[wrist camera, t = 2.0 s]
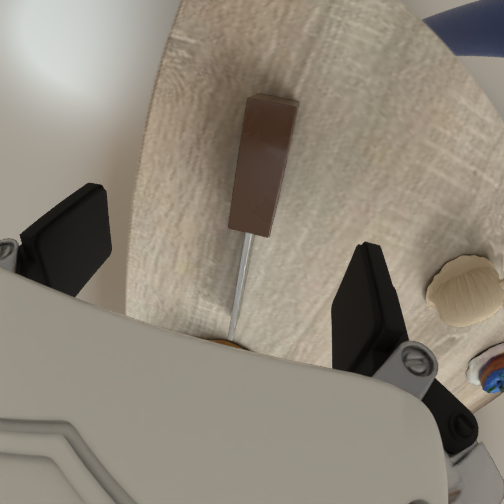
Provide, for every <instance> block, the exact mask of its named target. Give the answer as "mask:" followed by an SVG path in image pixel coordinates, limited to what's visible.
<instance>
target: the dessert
mask: <svg viewBox="0 0 504 504" xmlns="http://www.w3.org/2000/svg"><path fill="white" fill-rule="evenodd" d="M466 375H467V379H468V381H469V382H470V383H472V384H475V385H478V386H482V388H483V390H484V391H486V392H487V393H495V392H499V391H501V392H504V342H503V343H502V344H499V345H496V346H495V347H492V348H490V349H488V350H487V351H486V352H484V353H482V354H481V355H480V356H478V357H476V358H474V359H472V360H471V361H470V362H469V369H468V370H467V372H466Z"/></svg>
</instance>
